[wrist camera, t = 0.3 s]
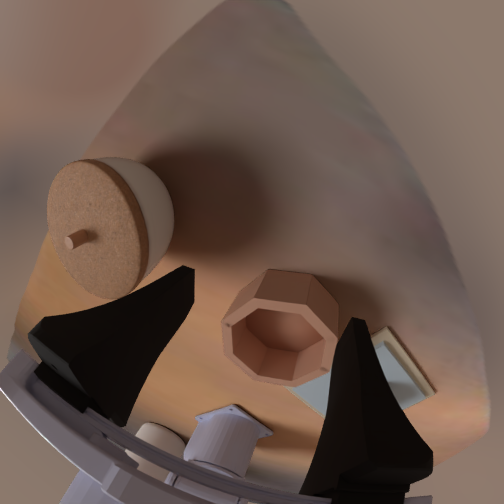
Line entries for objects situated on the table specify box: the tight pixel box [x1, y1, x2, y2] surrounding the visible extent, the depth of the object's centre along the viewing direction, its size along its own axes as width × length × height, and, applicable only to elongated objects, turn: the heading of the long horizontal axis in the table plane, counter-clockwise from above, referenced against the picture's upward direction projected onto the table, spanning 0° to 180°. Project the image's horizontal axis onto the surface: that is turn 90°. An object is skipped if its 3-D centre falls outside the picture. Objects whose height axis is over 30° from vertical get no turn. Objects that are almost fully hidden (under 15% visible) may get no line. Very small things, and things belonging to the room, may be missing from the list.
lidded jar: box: [47, 157, 174, 299], centre depth 20 cm, size 11×11×9 cm
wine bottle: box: [125, 423, 185, 482], centre depth 31 cm, size 10×10×30 cm
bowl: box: [221, 269, 339, 387], centre depth 22 cm, size 9×9×4 cm
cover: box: [292, 341, 426, 416], centre depth 24 cm, size 11×11×4 cm
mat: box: [284, 326, 435, 419], centre depth 26 cm, size 13×13×1 cm
